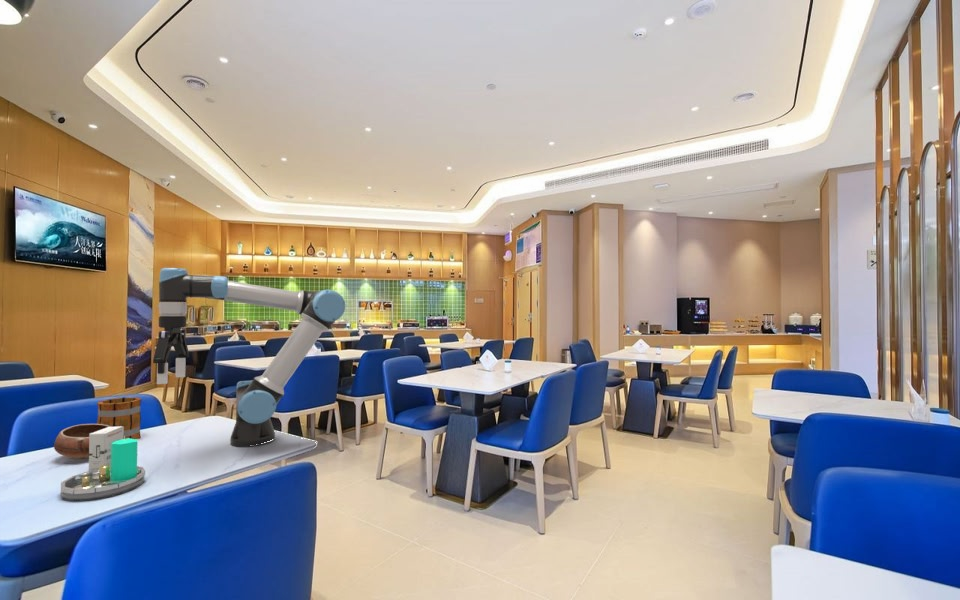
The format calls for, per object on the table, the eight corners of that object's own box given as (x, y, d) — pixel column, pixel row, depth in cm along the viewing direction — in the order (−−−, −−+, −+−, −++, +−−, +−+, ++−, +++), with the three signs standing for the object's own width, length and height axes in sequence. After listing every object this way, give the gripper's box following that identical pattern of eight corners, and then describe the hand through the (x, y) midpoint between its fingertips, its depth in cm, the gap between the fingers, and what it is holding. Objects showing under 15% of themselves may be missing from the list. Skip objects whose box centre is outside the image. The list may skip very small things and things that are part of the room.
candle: (122, 483, 125) (123, 439, 125) (104, 481, 126) (105, 438, 126) (142, 475, 131) (143, 433, 131) (124, 473, 132) (125, 432, 132)
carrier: (155, 473, 138) (156, 453, 138) (123, 498, 120) (124, 475, 121) (86, 478, 134) (87, 457, 134) (43, 504, 116) (43, 480, 117)
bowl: (72, 467, 143) (73, 435, 143) (42, 461, 148) (43, 430, 148) (126, 452, 157) (126, 423, 157) (97, 447, 163) (97, 419, 163)
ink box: (107, 462, 148) (108, 425, 148) (124, 461, 148) (124, 425, 148) (87, 471, 139) (88, 433, 139) (104, 471, 140) (105, 433, 140)
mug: (136, 443, 168) (137, 402, 168) (90, 447, 162) (90, 405, 163) (148, 429, 186) (149, 393, 186) (107, 433, 180) (107, 395, 180)
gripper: (176, 314, 160) (175, 374, 159) (140, 316, 135) (139, 387, 135) (199, 314, 161) (198, 374, 161) (168, 316, 137) (167, 386, 137)
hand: (171, 380), depth 148 cm, fingers open, 13 cm apart
